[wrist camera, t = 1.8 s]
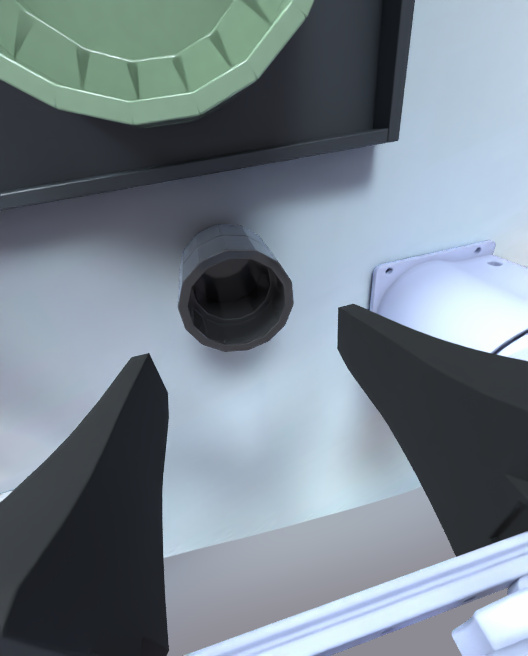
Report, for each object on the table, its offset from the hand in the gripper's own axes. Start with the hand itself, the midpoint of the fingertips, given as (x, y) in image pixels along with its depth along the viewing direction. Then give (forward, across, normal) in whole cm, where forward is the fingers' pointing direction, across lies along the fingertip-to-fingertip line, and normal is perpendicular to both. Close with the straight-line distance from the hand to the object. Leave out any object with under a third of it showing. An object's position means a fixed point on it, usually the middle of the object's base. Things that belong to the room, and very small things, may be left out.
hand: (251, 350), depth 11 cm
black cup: (+8, 0, 0) cm, 9 cm away
